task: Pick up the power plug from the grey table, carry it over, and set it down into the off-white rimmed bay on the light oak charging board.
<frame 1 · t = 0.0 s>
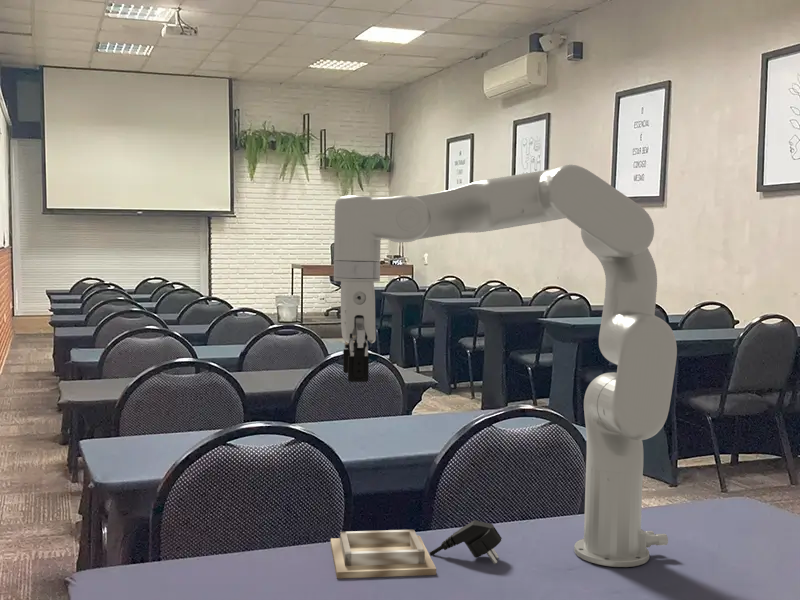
hand: (355, 376, 139), 31 cm above the table, tool pointing down, fingers open, 9 cm apart
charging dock: (380, 558, 143), on the table
power plug: (464, 560, 144), on the table
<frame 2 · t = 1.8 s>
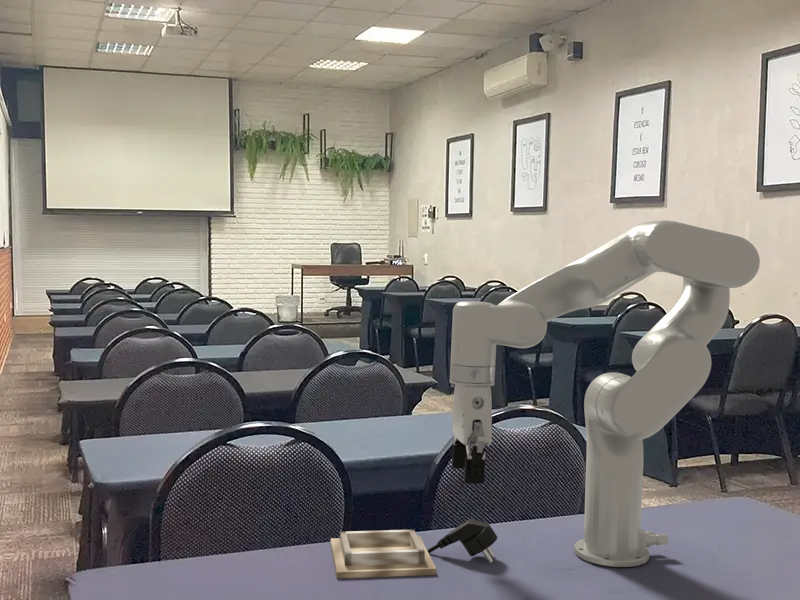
hand: (467, 475, 144), 14 cm above the table, tool pointing down, fingers open, 9 cm apart
nothing on the table moved.
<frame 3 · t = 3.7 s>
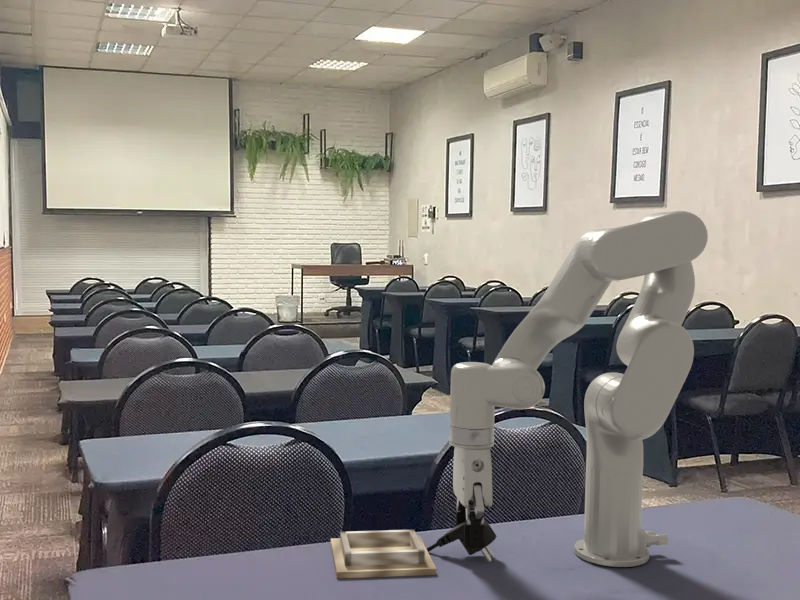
hand: (469, 539, 144), 3 cm above the table, tool pointing down, fingers closed on power plug, 5 cm apart
power plug: (460, 557, 145), on the table, touching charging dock, gripper
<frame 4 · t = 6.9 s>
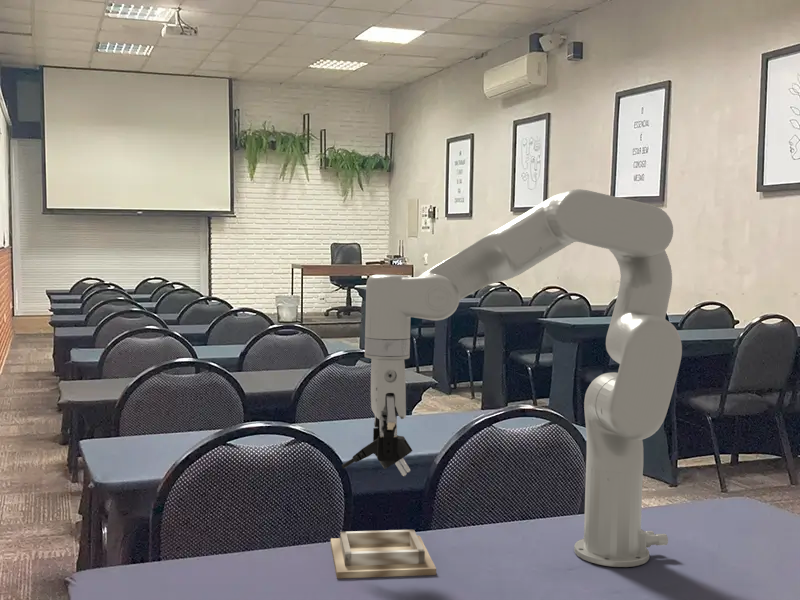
hand: (384, 454, 142), 18 cm above the table, tool pointing down, fingers closed on power plug, 5 cm apart
power plug: (376, 472, 143), point 14 cm above the table, touching gripper
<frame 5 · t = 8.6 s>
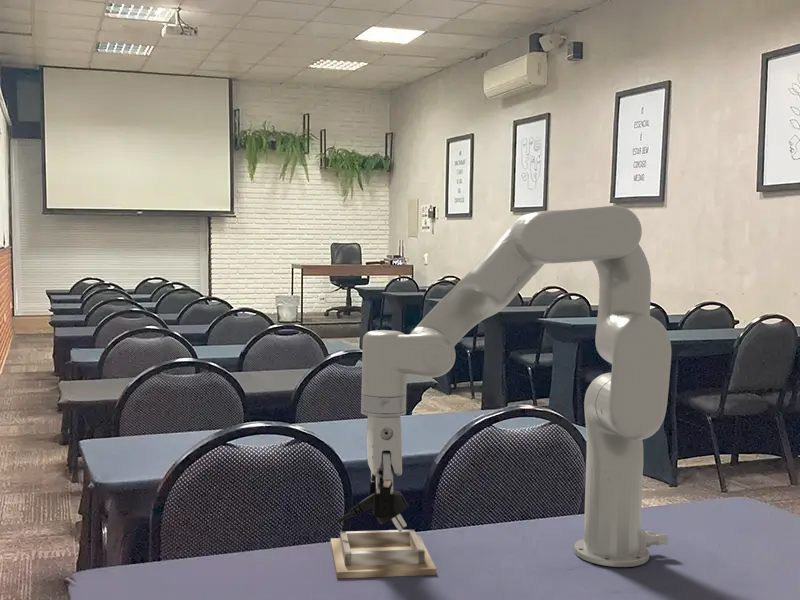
hand: (381, 509, 143), 8 cm above the table, tool pointing down, fingers closed on power plug, 5 cm apart
power plug: (372, 527, 144), point 5 cm above the table, touching gripper
when the fingers open (6 cm above the table, at t = 10.1 s): power plug stays where it is, resting on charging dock.
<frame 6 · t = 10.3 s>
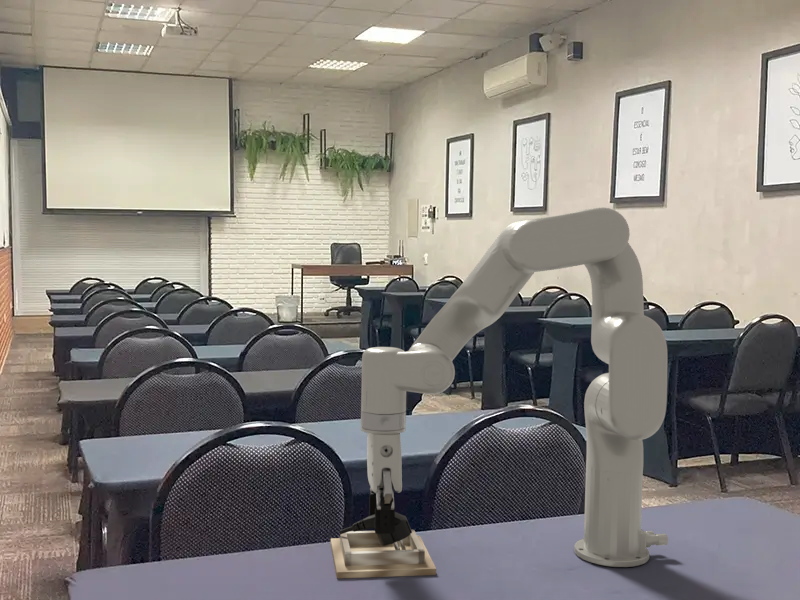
hand: (381, 524, 143), 6 cm above the table, tool pointing down, fingers open, 7 cm apart
power plug: (372, 545, 144), point 2 cm above the table, touching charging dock
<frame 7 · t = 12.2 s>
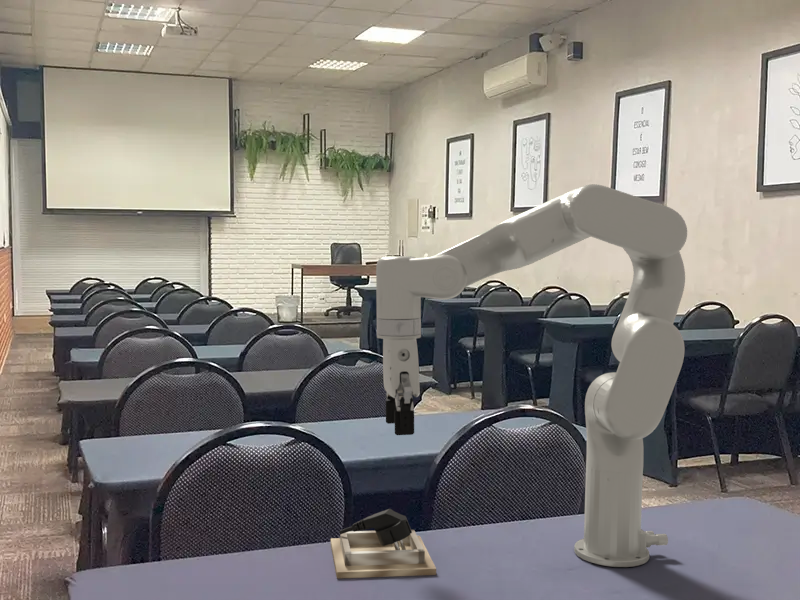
hand: (399, 428, 145), 22 cm above the table, tool pointing down, fingers open, 9 cm apart
nothing on the table moved.
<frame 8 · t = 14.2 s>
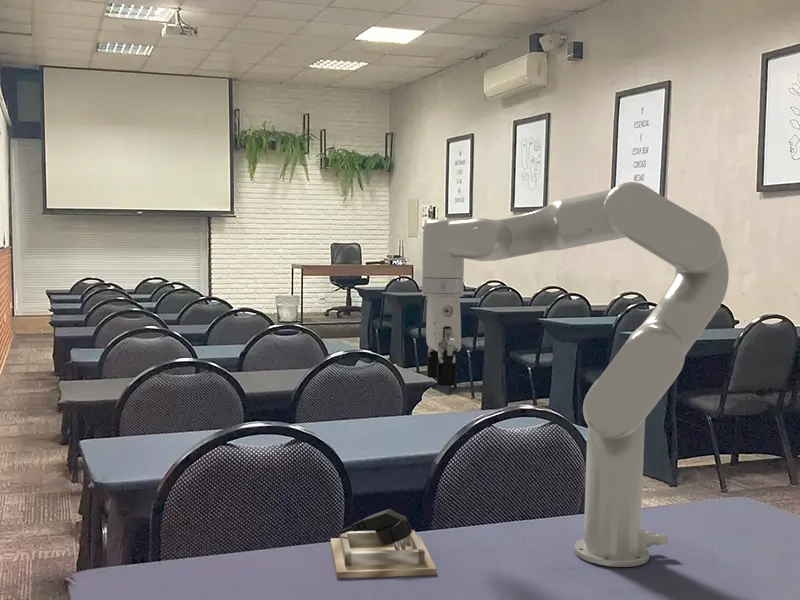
hand: (440, 381, 155), 28 cm above the table, tool pointing down, fingers open, 9 cm apart
nothing on the table moved.
at the end: power plug 1.8 cm from the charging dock (horizontally); power plug touching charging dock; the gripper is holding nothing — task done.
